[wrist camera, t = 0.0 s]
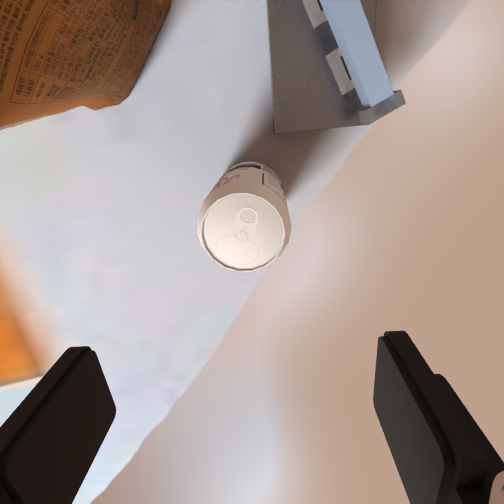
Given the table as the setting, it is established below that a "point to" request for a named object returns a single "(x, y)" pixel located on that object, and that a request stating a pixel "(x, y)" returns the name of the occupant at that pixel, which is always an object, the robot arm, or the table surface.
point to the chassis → (310, 68)
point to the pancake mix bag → (72, 53)
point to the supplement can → (245, 218)
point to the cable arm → (362, 59)
